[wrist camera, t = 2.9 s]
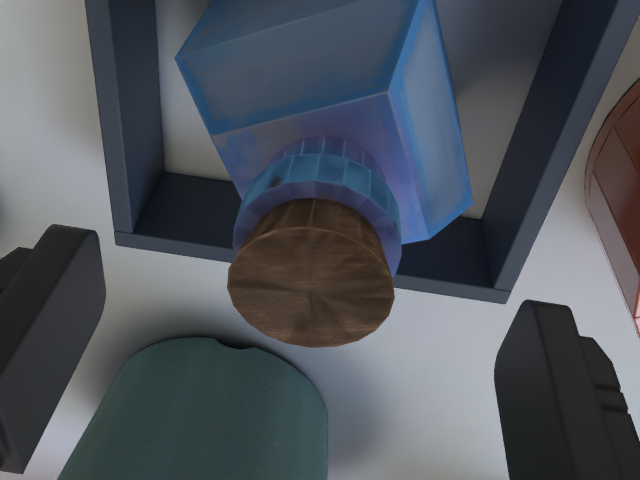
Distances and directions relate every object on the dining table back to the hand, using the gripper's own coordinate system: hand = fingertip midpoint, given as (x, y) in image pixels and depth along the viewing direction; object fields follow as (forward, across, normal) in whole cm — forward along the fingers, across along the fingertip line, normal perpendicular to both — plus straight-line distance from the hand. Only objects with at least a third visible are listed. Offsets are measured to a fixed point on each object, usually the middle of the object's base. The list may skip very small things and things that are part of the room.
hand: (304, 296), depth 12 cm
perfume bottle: (+12, 0, 0) cm, 12 cm away
